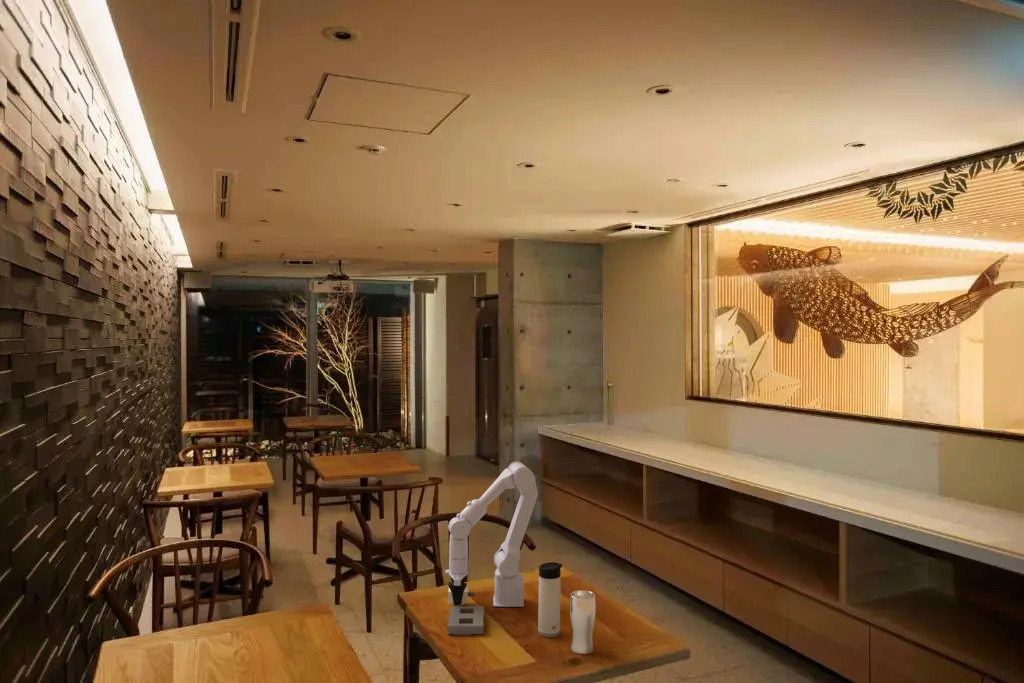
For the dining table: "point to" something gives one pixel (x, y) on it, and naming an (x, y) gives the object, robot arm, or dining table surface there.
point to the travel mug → (549, 599)
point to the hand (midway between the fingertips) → (458, 600)
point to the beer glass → (582, 620)
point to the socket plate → (466, 620)
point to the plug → (464, 598)
